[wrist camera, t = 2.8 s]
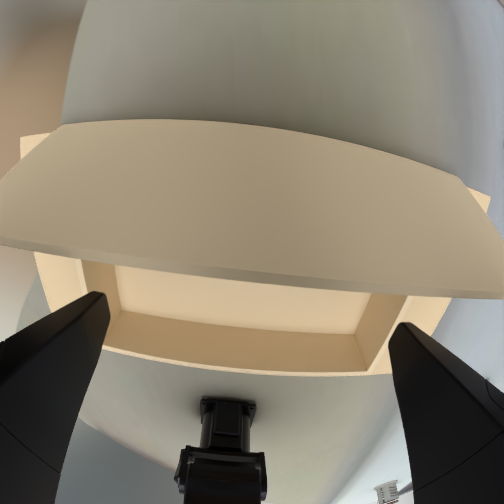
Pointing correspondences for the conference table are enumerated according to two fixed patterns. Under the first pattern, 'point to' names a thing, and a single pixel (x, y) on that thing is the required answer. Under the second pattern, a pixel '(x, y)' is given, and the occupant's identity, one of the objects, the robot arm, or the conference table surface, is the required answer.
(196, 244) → the kraft flap
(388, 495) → the french press
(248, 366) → the carton
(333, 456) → the conference table surface
